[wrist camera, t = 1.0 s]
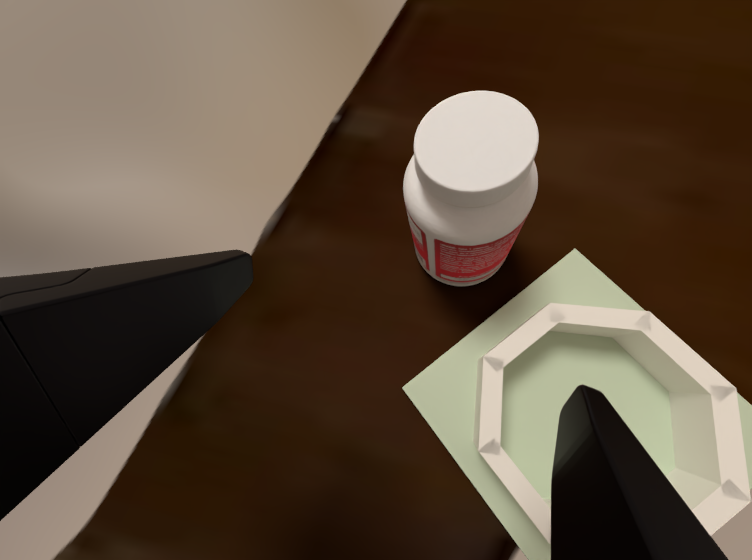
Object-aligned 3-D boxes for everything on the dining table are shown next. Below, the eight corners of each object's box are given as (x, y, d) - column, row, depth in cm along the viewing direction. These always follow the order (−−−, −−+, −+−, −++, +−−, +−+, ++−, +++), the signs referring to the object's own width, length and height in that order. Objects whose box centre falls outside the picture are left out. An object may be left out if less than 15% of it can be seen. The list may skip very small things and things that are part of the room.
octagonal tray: (577, 623, 17) (611, 686, 13) (403, 387, 21) (395, 389, 18) (787, 445, 17) (873, 462, 14) (571, 251, 22) (595, 228, 18)
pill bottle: (525, 237, 22) (598, 116, 12) (468, 306, 22) (493, 242, 12) (451, 190, 24) (458, 52, 14) (397, 252, 24) (363, 156, 14)
